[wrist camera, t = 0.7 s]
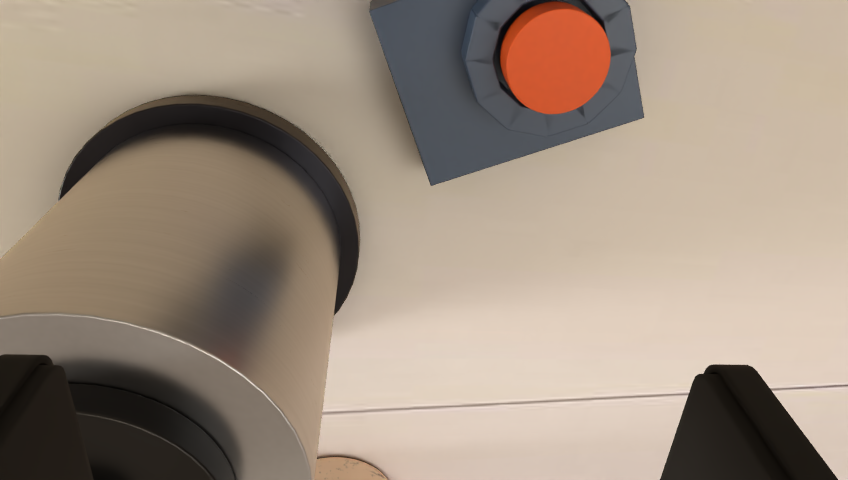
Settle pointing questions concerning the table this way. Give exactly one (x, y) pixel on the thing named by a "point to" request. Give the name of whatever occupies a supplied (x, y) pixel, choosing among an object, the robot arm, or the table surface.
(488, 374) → the table surface
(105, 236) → the kettle
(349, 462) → the teacup with lid
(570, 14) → the button
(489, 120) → the button housing
